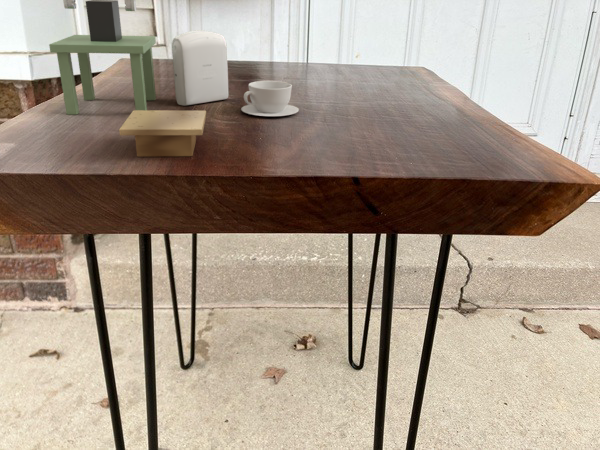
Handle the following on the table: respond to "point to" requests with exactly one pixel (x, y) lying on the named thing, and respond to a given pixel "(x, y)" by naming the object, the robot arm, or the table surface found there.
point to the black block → (104, 20)
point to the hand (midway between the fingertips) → (101, 9)
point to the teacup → (269, 99)
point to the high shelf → (83, 46)
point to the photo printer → (200, 67)
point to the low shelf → (164, 131)
